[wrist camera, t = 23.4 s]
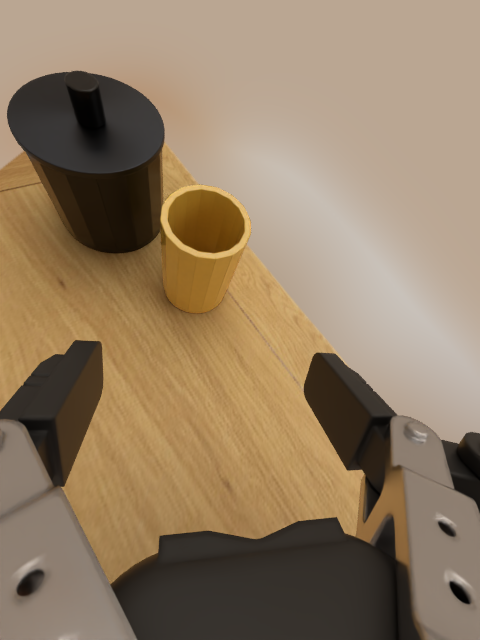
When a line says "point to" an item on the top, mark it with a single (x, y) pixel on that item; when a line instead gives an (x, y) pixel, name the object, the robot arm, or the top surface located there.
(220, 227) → the cup
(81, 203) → the pot
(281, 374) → the top surface
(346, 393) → the robot arm
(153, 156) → the pot lid
